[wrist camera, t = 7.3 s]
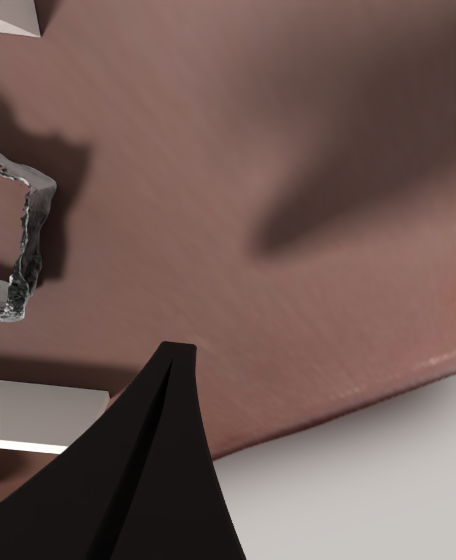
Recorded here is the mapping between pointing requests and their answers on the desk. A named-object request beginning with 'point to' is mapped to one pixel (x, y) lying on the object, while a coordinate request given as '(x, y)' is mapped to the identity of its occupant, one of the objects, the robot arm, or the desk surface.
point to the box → (36, 397)
